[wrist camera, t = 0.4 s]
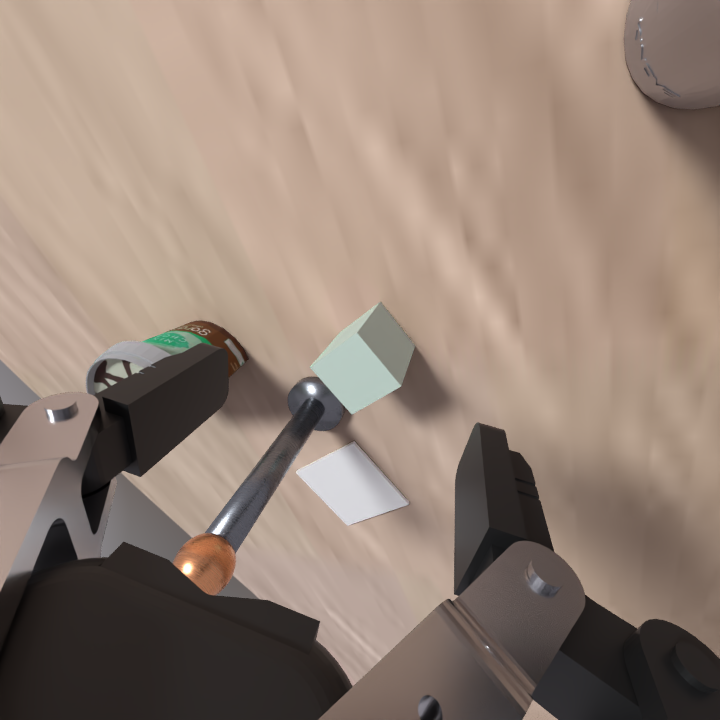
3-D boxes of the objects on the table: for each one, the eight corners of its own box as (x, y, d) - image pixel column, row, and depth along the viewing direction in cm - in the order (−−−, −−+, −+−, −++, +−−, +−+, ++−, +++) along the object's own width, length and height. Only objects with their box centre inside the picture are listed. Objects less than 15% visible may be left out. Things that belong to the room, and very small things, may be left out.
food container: (239, 302, 33) (159, 344, 25) (260, 358, 36) (194, 413, 27) (149, 317, 38) (55, 357, 29) (173, 365, 40) (93, 415, 32)
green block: (380, 301, 29) (356, 332, 23) (415, 345, 30) (401, 386, 24) (340, 331, 32) (309, 367, 26) (373, 371, 33) (351, 414, 27)
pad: (354, 441, 37) (353, 443, 37) (409, 501, 39) (408, 504, 39) (297, 470, 42) (295, 472, 42) (348, 522, 44) (347, 525, 44)
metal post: (318, 366, 34) (167, 551, 17) (356, 410, 35) (249, 622, 18) (282, 392, 37) (123, 571, 20) (318, 431, 38) (196, 632, 21)
